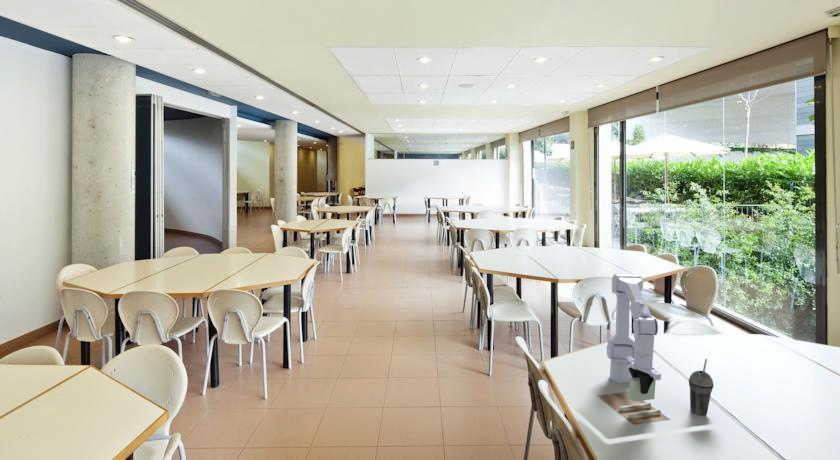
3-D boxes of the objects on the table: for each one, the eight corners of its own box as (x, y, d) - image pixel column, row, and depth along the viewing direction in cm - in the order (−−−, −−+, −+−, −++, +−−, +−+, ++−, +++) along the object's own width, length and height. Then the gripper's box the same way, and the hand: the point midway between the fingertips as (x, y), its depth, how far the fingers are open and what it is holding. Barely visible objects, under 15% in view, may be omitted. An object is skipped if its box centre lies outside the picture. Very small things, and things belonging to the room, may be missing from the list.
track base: (629, 394, 170) (630, 387, 169) (670, 422, 150) (670, 415, 150) (596, 398, 167) (596, 391, 166) (633, 428, 147) (634, 420, 147)
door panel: (649, 395, 156) (650, 376, 155) (654, 399, 154) (655, 379, 153) (628, 398, 154) (629, 378, 153) (633, 401, 152) (635, 381, 151)
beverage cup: (681, 410, 158) (685, 355, 156) (700, 409, 159) (705, 354, 157) (695, 421, 151) (700, 364, 149) (716, 420, 152) (721, 363, 149)
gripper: (619, 345, 158) (616, 382, 160) (648, 362, 144) (645, 402, 146) (636, 344, 160) (634, 380, 161) (667, 360, 145) (664, 400, 147)
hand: (641, 391), depth 153 cm, fingers closed on door panel, 2 cm apart
